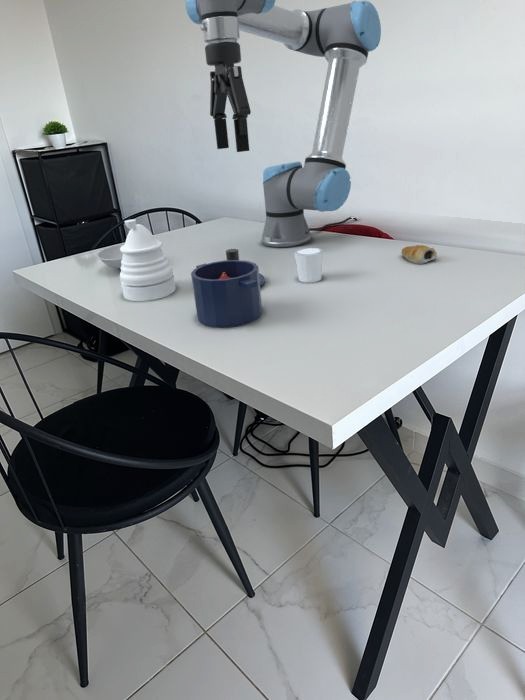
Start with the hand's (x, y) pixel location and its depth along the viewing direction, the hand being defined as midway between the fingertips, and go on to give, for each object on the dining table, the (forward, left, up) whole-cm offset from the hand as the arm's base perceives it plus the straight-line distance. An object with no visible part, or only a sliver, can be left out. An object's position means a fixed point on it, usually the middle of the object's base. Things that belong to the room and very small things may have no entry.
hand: (232, 150), depth 118 cm
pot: (+12, +22, -31) cm, 40 cm away
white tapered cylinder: (-13, +11, -31) cm, 35 cm away
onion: (+12, +21, -30) cm, 38 cm away
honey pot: (+24, -4, -31) cm, 39 cm away
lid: (+4, +4, -30) cm, 31 cm away
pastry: (-43, +14, -31) cm, 55 cm away
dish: (+26, -30, -31) cm, 50 cm away
